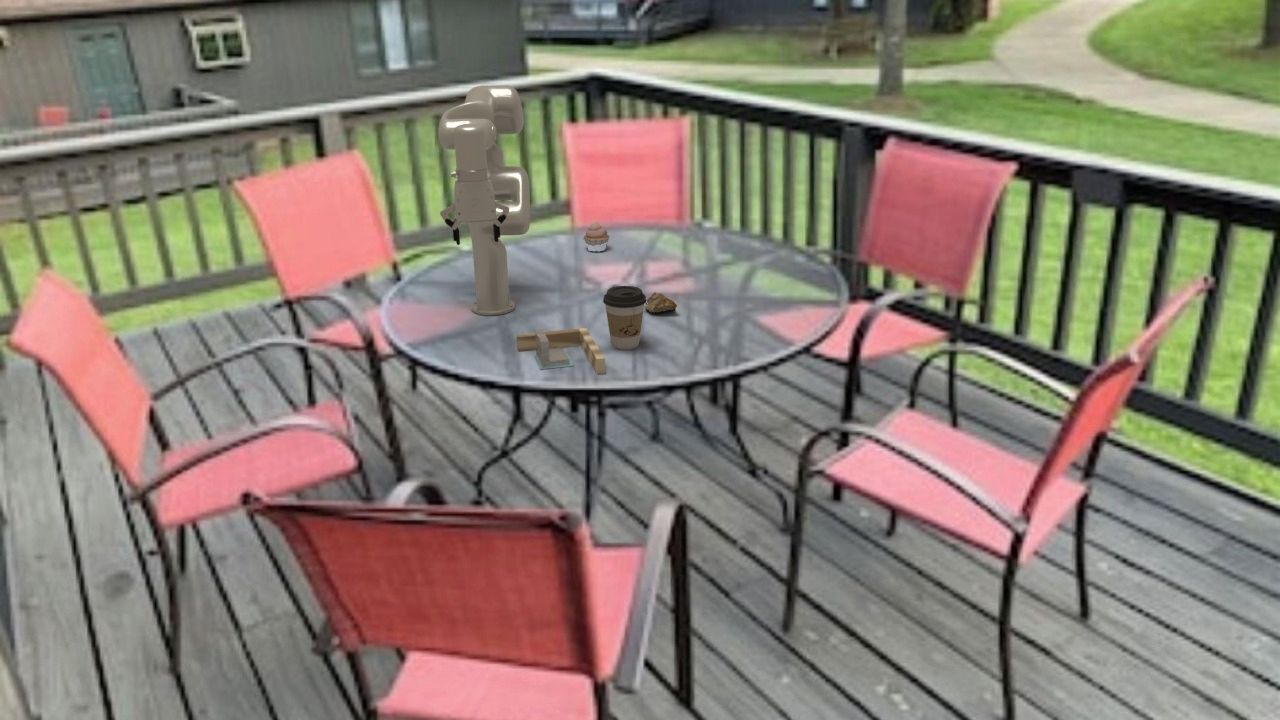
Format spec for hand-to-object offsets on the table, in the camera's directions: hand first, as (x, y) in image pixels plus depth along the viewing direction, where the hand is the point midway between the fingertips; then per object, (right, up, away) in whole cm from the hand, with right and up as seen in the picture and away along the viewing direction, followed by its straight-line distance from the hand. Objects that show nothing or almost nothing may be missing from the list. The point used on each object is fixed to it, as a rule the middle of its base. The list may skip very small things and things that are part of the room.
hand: (477, 242), depth 253 cm
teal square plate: (+20, -30, 0) cm, 36 cm away
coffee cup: (+38, -26, +11) cm, 47 cm away
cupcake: (+26, +8, +92) cm, 96 cm away
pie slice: (+47, -16, +36) cm, 62 cm away
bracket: (+19, -30, +1) cm, 36 cm away
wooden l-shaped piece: (+21, -30, +1) cm, 37 cm away
